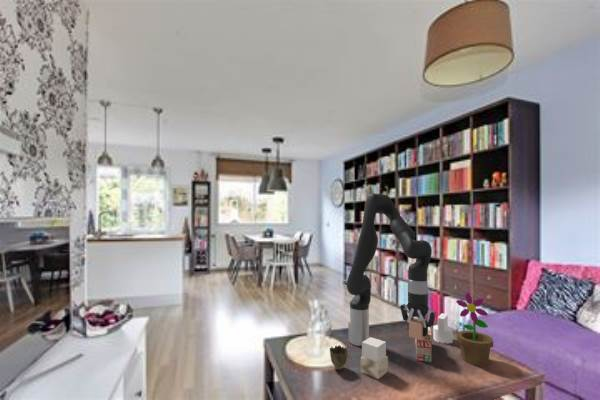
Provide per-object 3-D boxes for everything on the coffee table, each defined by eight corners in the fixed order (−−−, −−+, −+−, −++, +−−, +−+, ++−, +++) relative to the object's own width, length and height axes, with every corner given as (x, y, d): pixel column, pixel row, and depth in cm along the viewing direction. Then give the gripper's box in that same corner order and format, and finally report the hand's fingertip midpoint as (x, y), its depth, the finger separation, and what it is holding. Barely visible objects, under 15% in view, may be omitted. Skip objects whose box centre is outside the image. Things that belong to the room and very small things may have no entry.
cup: (336, 374, 127) (336, 354, 127) (326, 366, 133) (326, 347, 133) (351, 370, 130) (351, 350, 130) (341, 362, 137) (340, 344, 137)
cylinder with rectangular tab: (435, 335, 167) (435, 312, 167) (454, 339, 162) (454, 315, 162) (431, 340, 160) (431, 316, 160) (450, 345, 154) (450, 320, 155)
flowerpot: (452, 360, 138) (451, 291, 139) (462, 350, 149) (461, 286, 150) (489, 372, 129) (488, 298, 129) (497, 360, 139) (496, 291, 140)
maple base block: (360, 372, 129) (360, 357, 129) (370, 365, 135) (370, 350, 135) (378, 379, 123) (378, 363, 124) (387, 371, 129) (387, 356, 130)
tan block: (408, 336, 125) (408, 321, 125) (414, 332, 129) (414, 318, 129) (421, 340, 121) (421, 324, 122) (426, 336, 125) (426, 321, 125)
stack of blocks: (414, 341, 159) (414, 316, 159) (428, 343, 157) (428, 318, 157) (416, 360, 139) (416, 332, 139) (432, 363, 137) (431, 334, 137)
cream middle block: (361, 357, 129) (361, 342, 129) (370, 351, 134) (370, 337, 135) (377, 362, 124) (377, 347, 125) (385, 356, 130) (385, 341, 130)
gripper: (396, 289, 128) (396, 331, 127) (432, 296, 118) (432, 342, 117) (404, 286, 133) (404, 326, 133) (439, 292, 123) (439, 336, 123)
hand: (417, 333), depth 125 cm, fingers closed on tan block, 5 cm apart
